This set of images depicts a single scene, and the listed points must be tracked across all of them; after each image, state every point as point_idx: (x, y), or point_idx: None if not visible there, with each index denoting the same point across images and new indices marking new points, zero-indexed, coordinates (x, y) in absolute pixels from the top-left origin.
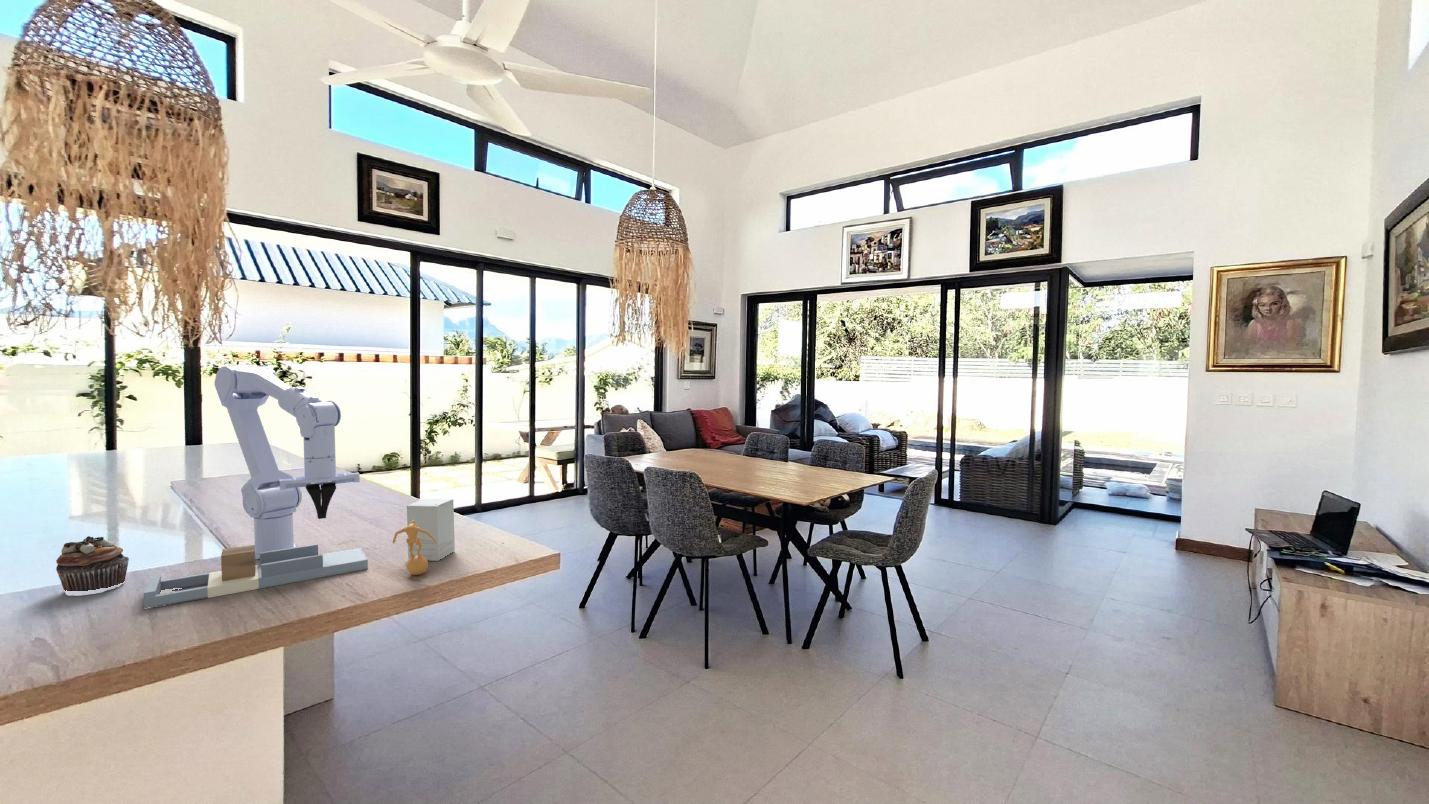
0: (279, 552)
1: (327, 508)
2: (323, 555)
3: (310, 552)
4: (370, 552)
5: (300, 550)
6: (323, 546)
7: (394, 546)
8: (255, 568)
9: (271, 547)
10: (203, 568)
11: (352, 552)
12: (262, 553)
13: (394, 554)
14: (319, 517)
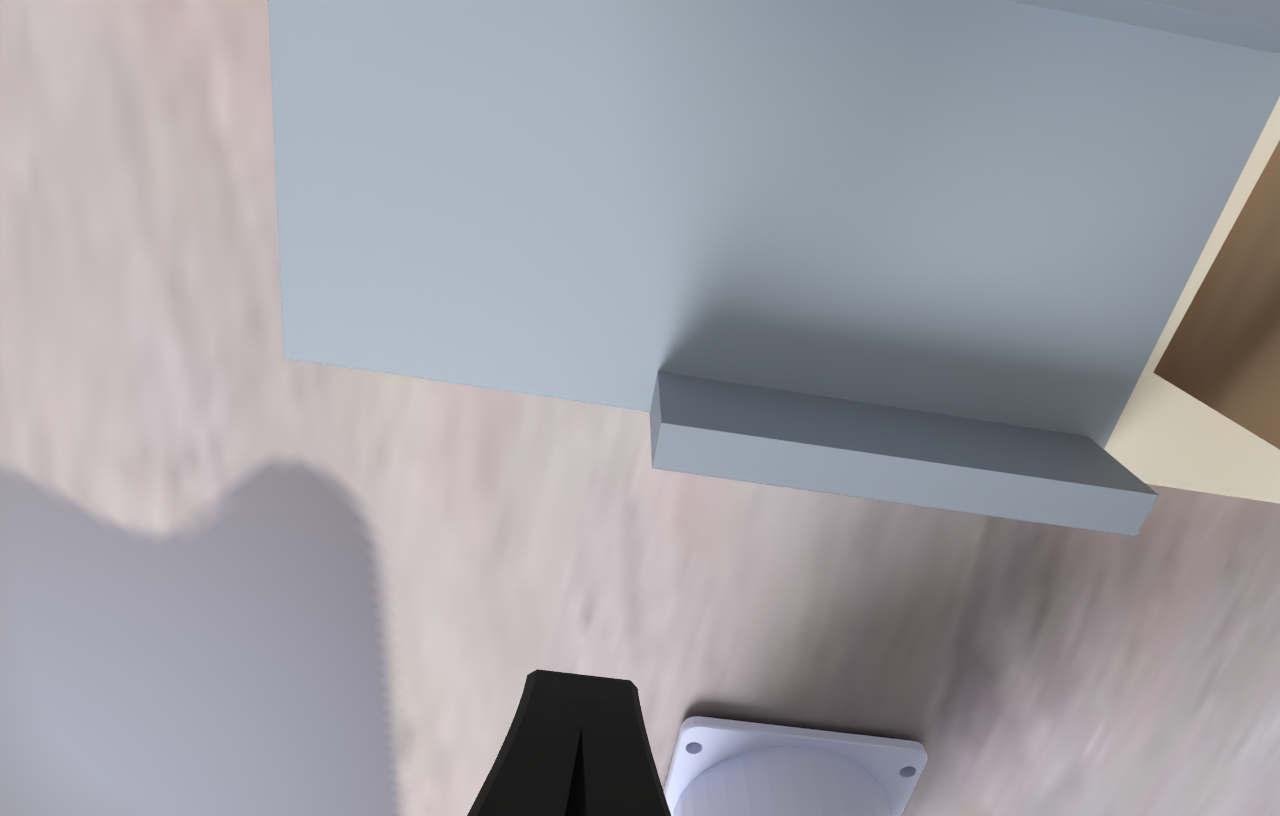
0: (993, 463)
1: (473, 807)
2: (619, 351)
3: (726, 399)
4: (227, 389)
5: (815, 431)
6: None
7: (17, 417)
8: (1196, 324)
9: (841, 797)
10: (1163, 765)
11: (372, 251)
12: (1135, 492)
13: (17, 158)
14: (624, 696)
